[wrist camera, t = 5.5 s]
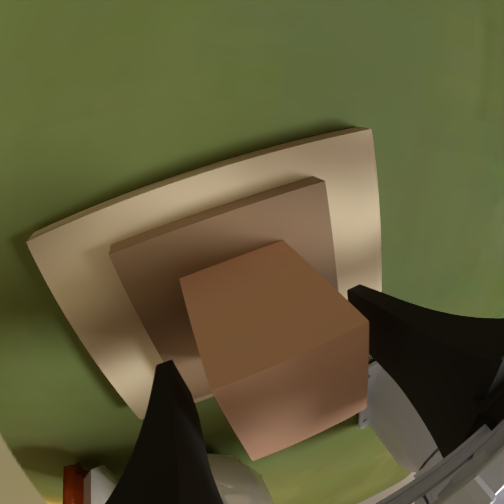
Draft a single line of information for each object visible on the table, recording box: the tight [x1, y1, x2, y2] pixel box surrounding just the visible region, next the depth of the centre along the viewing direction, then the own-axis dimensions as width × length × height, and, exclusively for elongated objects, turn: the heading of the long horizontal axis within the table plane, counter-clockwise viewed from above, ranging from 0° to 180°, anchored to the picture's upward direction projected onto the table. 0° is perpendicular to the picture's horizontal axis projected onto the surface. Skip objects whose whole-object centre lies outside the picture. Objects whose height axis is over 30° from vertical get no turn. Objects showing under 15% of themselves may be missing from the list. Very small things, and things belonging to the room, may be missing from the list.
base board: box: [26, 127, 382, 420], centre depth 15 cm, size 12×16×2 cm
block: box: [179, 240, 369, 461], centre depth 12 cm, size 4×4×6 cm
